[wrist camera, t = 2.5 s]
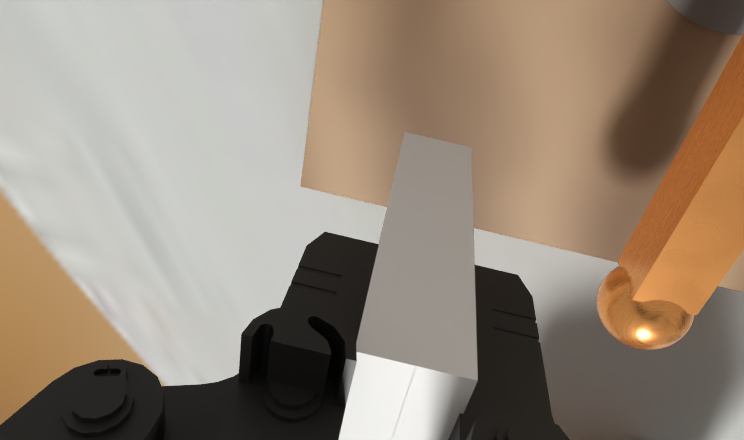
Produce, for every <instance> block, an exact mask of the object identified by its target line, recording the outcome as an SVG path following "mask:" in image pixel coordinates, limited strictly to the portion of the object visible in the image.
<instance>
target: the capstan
mask: <svg viewBox="0 0 744 440" xmlns="http://www.w3.org/2000/svg"><path fill="white" fill-rule="evenodd" d="M743 250H744V34H743V35H742V37H741V39H740V41H739V43H738V44H737V46H736V48H735V50H734V52H733V53H732V55H731V57H730V59H729V61H728V62H727V64H726V66H725V68H724V70H723V72H722V73H721V75H720V77H719V79H718V81H717V82H716V84H715V86H714V88H713V90H712V91H711V93H710V95H709V97H708V99H707V100H706V102H705V104H704V106H703V108H702V109H701V111H700V113H699V115H698V117H697V118H696V120H695V122H694V124H693V126H692V127H691V129H690V131H689V133H688V135H687V137H686V138H685V140H684V142H683V144H682V146H681V147H680V149H679V151H678V153H677V155H676V156H675V158H674V160H673V162H672V164H671V165H670V167H669V169H668V171H667V173H666V174H665V176H664V178H663V180H662V182H661V183H660V185H659V187H658V189H657V191H656V192H655V194H654V196H653V198H652V200H651V202H650V203H649V205H648V207H647V209H646V211H645V212H644V214H643V216H642V218H641V220H640V221H639V223H638V225H637V227H636V229H635V230H634V232H633V234H632V236H631V238H630V239H629V241H628V243H627V245H626V247H625V248H624V250H623V252H622V254H621V256H620V257H619V259H618V264H619V267H617V268H615V269H614V270H613V271H611V272H610V273H609V274H608V275H607V276H606V277H605V279H604V280H603V282H602V283H601V285H600V287H599V291H598V294H597V310H598V314H599V317H600V319H601V322H602V323H603V325H604V327H605V328H606V329H607V331H608V332H609V333H610V334H611V335H612V336H613V337H615V338H616V339H617V340H619V341H620V342H622V343H624V344H626V345H628V346H631V347H634V348H638V349H644V350H655V349H661V348H665V347H668V346H670V345H672V344H674V343H676V342H677V341H679V340H680V339H681V338H682V337H683V336H684V335H685V334H686V333H687V332H688V330H689V329H690V327H691V325H692V323H693V320H694V316H695V315H698V313H699V312H700V310H701V309H702V308H703V306H704V305H705V303H706V302H707V301H708V299H709V298H710V296H711V295H712V293H713V292H714V291H715V289H716V288H717V286H718V285H719V284H720V282H721V281H722V279H723V278H724V277H725V275H726V274H727V272H728V271H729V270H730V268H731V267H732V265H733V264H734V262H735V261H736V260H737V258H738V257H739V255H740V254H741V253H742V251H743Z"/></svg>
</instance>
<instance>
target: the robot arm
mask: <svg viewBox="0 0 744 440" xmlns="http://www.w3.org/2000/svg"><path fill="white" fill-rule="evenodd" d="M535 321H536V316H535V310H534V304H533V298H532V295H531V294H530V292H529V291H528V289H527V288H526V286H525V285H524V284H523V282H522V281H521V279H520V278H519V276H518V275H515V274H511V273H507V272H503V271H498V270H494V269H490V268H486V267H481V266H477V265H475V263H474V228H473V192H472V157H471V147H468V146H464V145H459V144H455V143H451V142H446V141H442V140H438V139H433V138H429V137H425V136H420V135H416V134H412V133H407V132H405V133H404V138H403V142H402V146H401V150H400V155H399V159H398V163H397V168H396V172H395V176H394V180H393V185H392V189H391V193H390V197H389V202H388V206H387V210H386V215H385V219H384V223H383V227H382V232H381V236H380V240H379V244H375V243H370V242H366V241H362V240H358V239H353V238H349V237H345V236H340V235H336V234H332V233H328V232H324V233H323V234H322V235H320V236H319V237H318V238H316V239H315V240H314V241H312V242H311V243H310V244H308V245H307V246H306V249H305V251H304V254H303V256H302V258H301V261H300V263H299V266H298V269H297V270H296V272H295V275H294V277H293V279H292V282H291V286H290V287H289V289H288V291H287V294H286V296H285V298H284V301H283V303H282V305H281V308H277V309H272V310H269V311H268V312H266V313H264V314H262V315H260V316H258V317H257V318H255V319H253V320H252V322H251V323H250V324H249V325H248V327H247V328H246V329H245V330H244V332H243V333H242V335H241V351H240V366H239V374H237V375H235V376H234V377H231V378H228V379H225V380H222V381H219V382H215V383H208V384H201V385H181V386H161V384H160V382H159V380H158V377H157V376H156V375H155V374H153V373H152V372H151V371H150V370H148V369H147V368H146V367H144V366H143V365H141V364H137V363H133V362H130V361H126V360H122V359H121V360H98V361H95V362H92V363H89V364H85V365H82V366H79V367H76V368H73V369H72V370H70V371H69V372H67V373H66V374H64V375H62V376H61V377H59V378H57V379H56V380H54V381H53V382H51V383H50V384H49V385H48V386H47V387H46V388H44V389H43V390H42V391H41V392H39V393H38V394H37V395H36V396H35V397H34V398H32V399H31V400H30V401H29V402H28V403H27V404H25V405H24V406H23V407H22V408H20V409H19V410H18V411H17V412H16V413H14V414H13V415H12V416H11V417H10V418H8V419H7V420H6V421H5V422H4V423H2V424H1V425H0V440H569V438H568V437H567V436H566V435H565V433H564V432H563V431H562V430H561V428H560V427H559V426H558V425H557V424H555V423H554V421H553V418H552V414H551V408H550V401H549V395H548V389H547V383H546V377H545V371H544V365H543V359H542V353H541V346H540V343H539V342H538V340H539V334H538V328H537V323H535Z"/></svg>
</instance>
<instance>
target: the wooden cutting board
mask: <svg viewBox="0 0 744 440" xmlns="http://www.w3.org/2000/svg"><path fill="white" fill-rule="evenodd" d="M743 34H744V0H324V2H323V10H322V18H321V26H320V34H319V42H318V50H317V58H316V66H315V74H314V82H313V90H312V98H311V107H310V115H309V123H308V131H307V139H306V147H305V155H304V163H303V171H302V179H301V187H305V188H310V189H314V190H318V191H322V192H326V193H330V194H335V195H339V196H343V197H347V198H351V199H356V200H360V201H364V202H368V203H372V204H376V205H381V206H385V207H387V206H388V202H389V197H390V193H391V189H392V185H393V180H394V176H395V172H396V168H397V163H398V159H399V155H400V150H401V146H402V142H403V138H404V133H405V132H407V133H412V134H416V135H420V136H425V137H429V138H433V139H438V140H442V141H446V142H451V143H455V144H459V145H464V146H468V147H471V157H472V192H473V228H477V229H481V230H485V231H489V232H493V233H498V234H502V235H506V236H510V237H514V238H518V239H523V240H527V241H531V242H535V243H539V244H544V245H548V246H552V247H556V248H560V249H564V250H569V251H573V252H577V253H581V254H585V255H590V256H594V257H598V258H602V259H606V260H610V261H615V262H618V259H619V257H620V256H621V254H622V252H623V250H624V248H625V247H626V245H627V243H628V241H629V239H630V238H631V236H632V234H633V232H634V230H635V229H636V227H637V225H638V223H639V221H640V220H641V218H642V216H643V214H644V212H645V211H646V209H647V207H648V205H649V203H650V202H651V200H652V198H653V196H654V194H655V192H656V191H657V189H658V187H659V185H660V183H661V182H662V180H663V178H664V176H665V174H666V173H667V171H668V169H669V167H670V165H671V164H672V162H673V160H674V158H675V156H676V155H677V153H678V151H679V149H680V147H681V146H682V144H683V142H684V140H685V138H686V137H687V135H688V133H689V131H690V129H691V127H692V126H693V124H694V122H695V120H696V118H697V117H698V115H699V113H700V111H701V109H702V108H703V106H704V104H705V102H706V100H707V99H708V97H709V95H710V93H711V91H712V90H713V88H714V86H715V84H716V82H717V81H718V79H719V77H720V75H721V73H722V72H723V70H724V68H725V66H726V64H727V62H728V61H729V59H730V57H731V55H732V53H733V52H734V50H735V48H736V46H737V44H738V43H739V41H740V39H741V37H742V35H743ZM718 286H719V287H723V288H727V289H732V290H736V291H740V292H744V250H743V251H742V253H741V254H740V255H739V257H738V258H737V260H736V261H735V262H734V264H733V265H732V267H731V268H730V270H729V271H728V272H727V274H726V275H725V277H724V278H723V279H722V281H721V282H720V284H719V285H718Z"/></svg>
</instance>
